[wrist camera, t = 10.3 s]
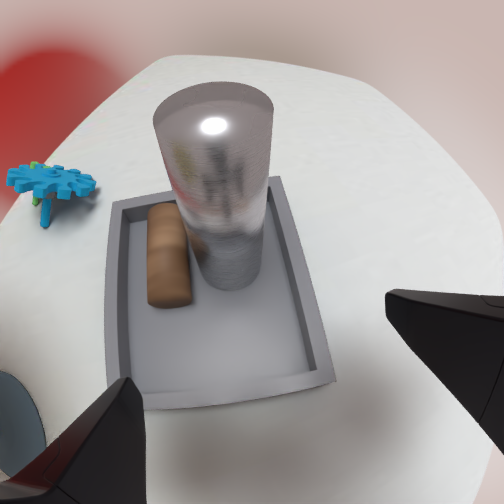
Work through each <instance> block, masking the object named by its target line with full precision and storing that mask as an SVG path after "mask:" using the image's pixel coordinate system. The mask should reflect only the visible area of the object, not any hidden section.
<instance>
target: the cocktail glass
mask: <svg viewBox="0 0 504 504" xmlns="http://www.w3.org/2000/svg"><path fill="white" fill-rule="evenodd" d="M45 449H46V443H45V435H44V431H43V426H42V423H41V420H40V416H39V414H38V411H37V409H36V406H35V404H34V402H33V400H32V398H31V397H30V395H29V394H28V392H27V390H26V389H25V388H24V387H23V385H22V384H21V383H20V382H19V381H18V380H17V379H16V378H14V377H13V376H12V375H10V374H8V373H6V372H2V371H0V469H1V470H2V471H3V472H4V473H6V474H7V475H8V476H10V477H13V476H14V475H15V474H16V473H18V472H19V471H20V470H21V469H22V468H24V467H25V466H26V465H27V464H29V463H30V462H31V461H32V460H33V459H35V458H36V457H37V456H38V455H39V454H40V453H42V452H43V451H44V450H45Z"/></svg>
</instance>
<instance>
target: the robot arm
mask: <svg viewBox="0 0 504 504" xmlns="http://www.w3.org/2000/svg"><path fill="white" fill-rule="evenodd" d="M385 311H386V317H387V319H388V320H389V322H390V323H391V324H392V326H393V327H394V328H395V329H396V331H397V332H398V333H399V335H400V336H401V337H402V339H403V340H404V341H405V343H406V344H407V345H408V346H409V347H410V349H411V350H412V351H413V352H414V353H415V354H416V355H417V356H418V357H419V358H420V359H421V360H422V361H423V363H424V364H425V365H426V366H427V367H428V368H429V369H430V370H431V371H432V372H433V373H434V374H435V375H436V377H437V378H438V379H439V380H440V381H441V382H442V383H443V384H444V385H445V386H446V388H447V389H448V390H449V391H450V392H451V393H452V394H453V395H454V396H455V398H456V399H457V400H458V401H459V402H460V403H461V404H462V405H463V407H464V408H465V409H466V410H467V411H468V412H469V414H470V415H471V416H472V417H473V418H474V419H475V421H476V422H477V423H479V425H480V427H481V428H482V429H483V430H484V431H485V433H486V434H487V435H488V436H489V437H490V439H491V440H492V441H493V442H494V443H495V444H496V446H497V447H498V448H499V450H500V451H501V452H502V453H503V455H504V296H487V295H480V296H479V295H471V294H457V293H443V292H430V291H417V290H405V289H393V290H391V291H389V292H387V293H386V294H385ZM0 504H147V501H146V432H145V420H144V407H143V398H142V395H141V393H140V391H139V390H138V388H137V387H136V385H135V383H134V382H133V380H132V379H131V378H130V377H128V376H127V377H122V378H118V379H117V380H116V381H115V382H114V383H113V384H112V385H111V386H110V387H109V388H108V389H107V390H106V391H105V392H104V393H103V394H102V395H101V396H100V397H99V398H98V399H97V400H95V401H94V402H93V403H92V404H91V405H90V406H89V407H88V408H87V409H86V410H85V411H84V412H83V413H82V414H81V415H80V416H79V417H78V418H77V419H76V420H75V421H74V422H73V423H72V424H71V425H70V426H69V427H68V428H67V429H66V430H65V431H64V432H63V433H62V434H61V435H60V436H59V438H56V439H55V440H54V441H53V442H52V443H51V444H50V445H49V446H48V447H47V448H46V449H45V450H44V451H43V452H42V453H40V454H39V455H38V456H37V457H36V458H35V459H33V460H32V461H31V462H30V463H29V464H27V465H26V466H25V467H24V468H22V469H21V470H20V471H19V472H18V473H16V474H15V475H14V476H13V477H11V478H10V479H8V480H6V481H3V482H0Z"/></svg>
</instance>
